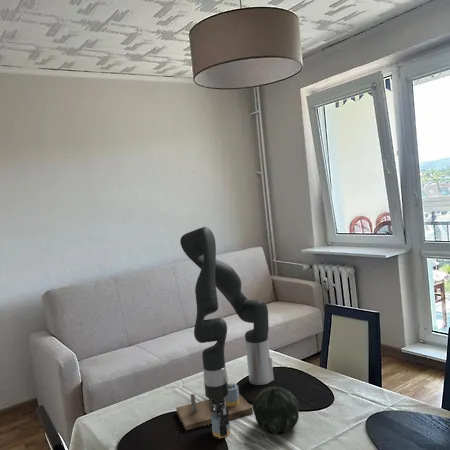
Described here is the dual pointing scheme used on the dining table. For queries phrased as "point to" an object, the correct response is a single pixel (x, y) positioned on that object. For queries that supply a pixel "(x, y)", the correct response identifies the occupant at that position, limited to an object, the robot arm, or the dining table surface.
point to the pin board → (208, 412)
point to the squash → (276, 409)
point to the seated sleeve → (232, 396)
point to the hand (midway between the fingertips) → (220, 430)
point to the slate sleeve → (217, 427)
